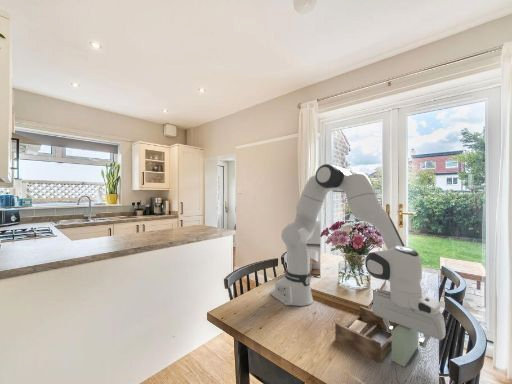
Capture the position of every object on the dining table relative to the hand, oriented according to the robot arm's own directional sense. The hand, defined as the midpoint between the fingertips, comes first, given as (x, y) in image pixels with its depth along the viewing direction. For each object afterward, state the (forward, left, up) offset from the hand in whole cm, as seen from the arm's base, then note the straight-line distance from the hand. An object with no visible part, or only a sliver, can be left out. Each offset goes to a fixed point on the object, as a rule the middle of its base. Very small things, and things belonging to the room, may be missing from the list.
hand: (405, 338), depth 74 cm
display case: (-66, +40, -5) cm, 77 cm away
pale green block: (0, 0, -5) cm, 5 cm away
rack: (-12, -1, -5) cm, 13 cm away
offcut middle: (-15, -2, -5) cm, 16 cm away
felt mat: (0, 0, -5) cm, 5 cm away
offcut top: (-15, -1, -4) cm, 16 cm away
